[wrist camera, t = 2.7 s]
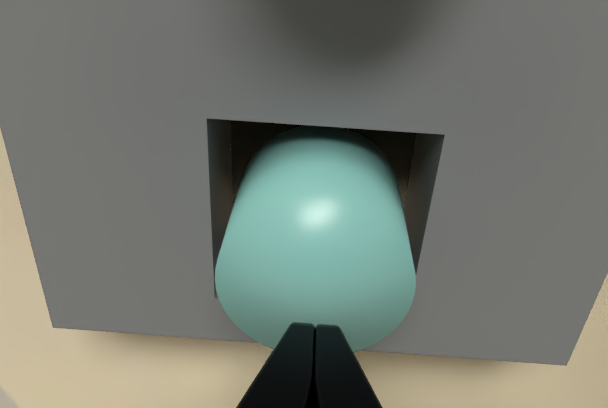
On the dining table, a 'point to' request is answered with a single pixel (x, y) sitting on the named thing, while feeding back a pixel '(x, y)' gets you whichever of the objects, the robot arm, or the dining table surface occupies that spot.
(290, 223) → the teal button
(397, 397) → the dining table surface
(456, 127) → the console
